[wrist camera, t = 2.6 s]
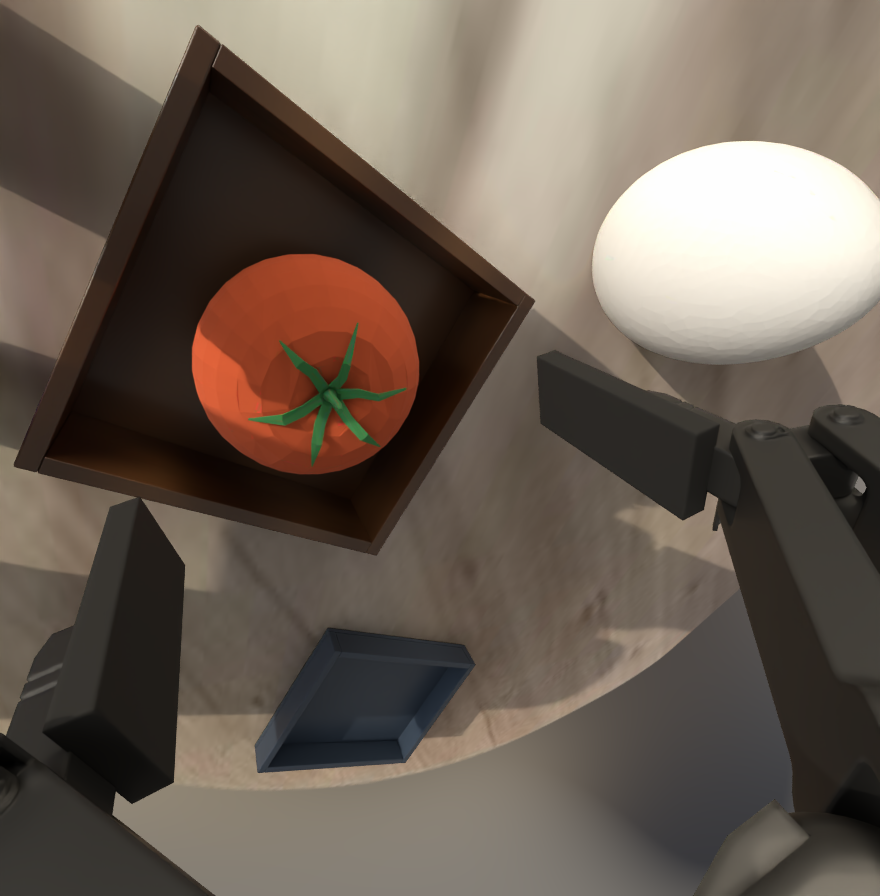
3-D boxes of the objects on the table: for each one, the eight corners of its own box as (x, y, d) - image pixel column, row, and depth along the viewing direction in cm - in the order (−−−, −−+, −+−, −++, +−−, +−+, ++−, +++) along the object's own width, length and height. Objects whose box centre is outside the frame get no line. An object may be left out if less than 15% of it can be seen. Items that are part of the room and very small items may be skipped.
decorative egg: (680, 323, 38) (898, 383, 26) (559, 348, 34) (753, 431, 22) (719, 148, 32) (1025, 121, 20) (577, 151, 28) (857, 120, 16)
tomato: (162, 255, 22) (141, 292, 14) (372, 234, 25) (454, 253, 17) (225, 446, 27) (236, 553, 19) (392, 406, 30) (462, 483, 22)
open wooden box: (47, 415, 23) (12, 467, 18) (197, 60, 19) (196, 22, 15) (353, 508, 33) (376, 556, 29) (486, 285, 30) (535, 301, 25)
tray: (254, 745, 39) (257, 773, 38) (327, 627, 37) (334, 651, 35) (397, 740, 48) (405, 763, 46) (464, 644, 46) (476, 664, 44)
